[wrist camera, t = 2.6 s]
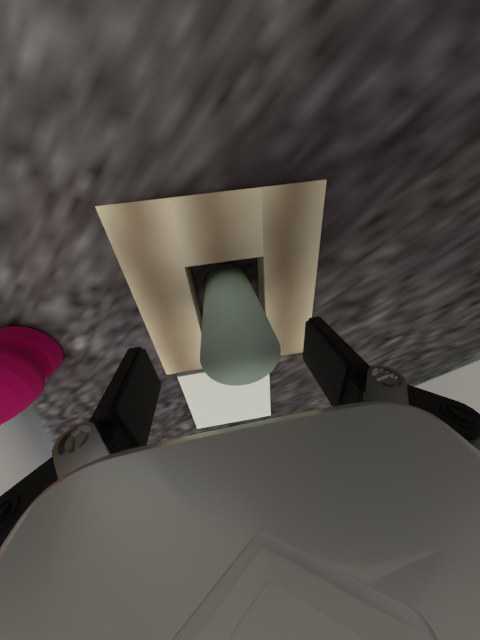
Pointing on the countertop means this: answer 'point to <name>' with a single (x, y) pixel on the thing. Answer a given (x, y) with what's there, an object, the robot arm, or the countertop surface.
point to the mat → (224, 399)
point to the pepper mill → (24, 367)
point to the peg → (235, 330)
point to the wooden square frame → (218, 259)
